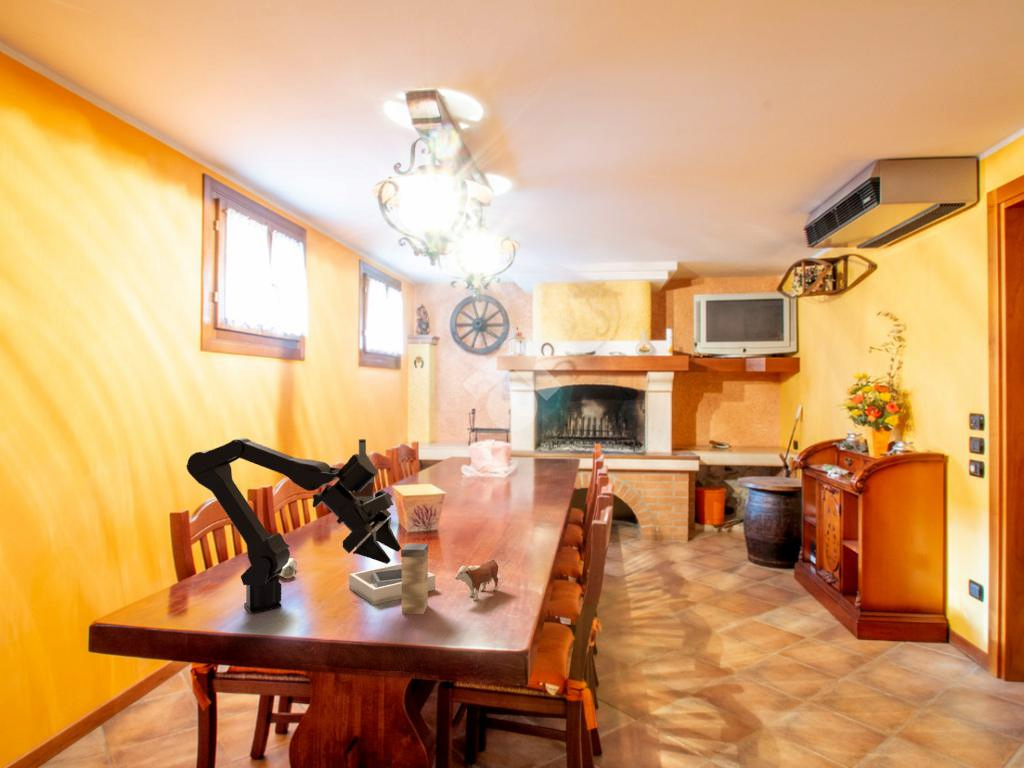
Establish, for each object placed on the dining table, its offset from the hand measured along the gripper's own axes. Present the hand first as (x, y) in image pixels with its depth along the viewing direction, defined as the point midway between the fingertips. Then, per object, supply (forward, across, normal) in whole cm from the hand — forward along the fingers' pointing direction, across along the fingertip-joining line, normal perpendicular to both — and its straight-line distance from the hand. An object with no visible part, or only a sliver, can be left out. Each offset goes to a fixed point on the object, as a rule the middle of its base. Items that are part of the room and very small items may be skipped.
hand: (394, 556), depth 127 cm
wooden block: (+12, 0, +5) cm, 13 cm away
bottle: (-16, +87, +33) cm, 94 cm away
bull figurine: (+21, +9, -4) cm, 23 cm away
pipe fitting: (-16, +23, +33) cm, 43 cm away
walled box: (+6, +12, +11) cm, 18 cm away
